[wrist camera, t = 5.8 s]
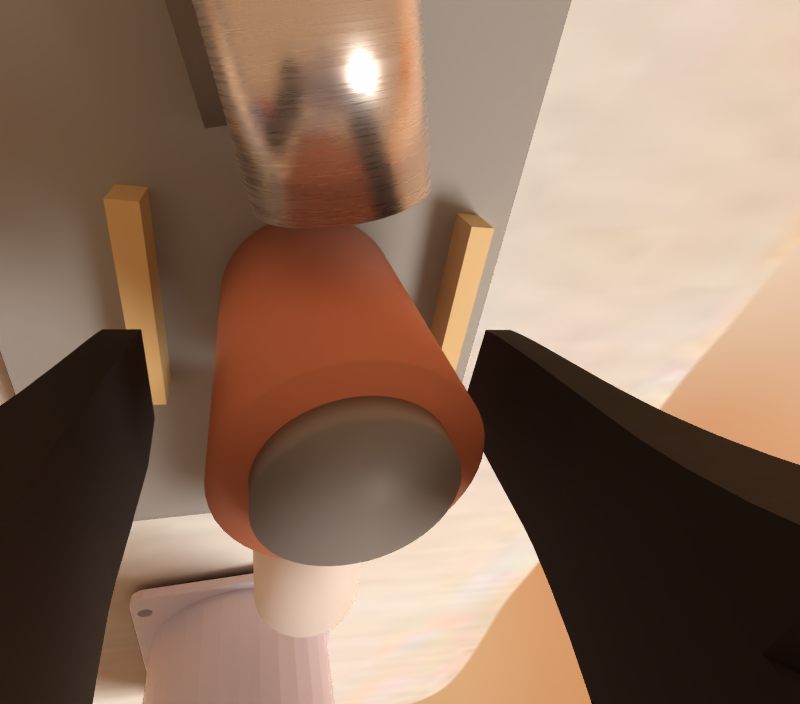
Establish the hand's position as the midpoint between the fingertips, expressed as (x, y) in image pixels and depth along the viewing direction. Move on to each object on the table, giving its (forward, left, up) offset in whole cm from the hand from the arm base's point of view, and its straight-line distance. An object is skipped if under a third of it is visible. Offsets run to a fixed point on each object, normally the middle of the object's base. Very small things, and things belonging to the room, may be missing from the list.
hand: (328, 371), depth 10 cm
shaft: (+6, +1, -4) cm, 7 cm away
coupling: (0, 0, -3) cm, 3 cm away
